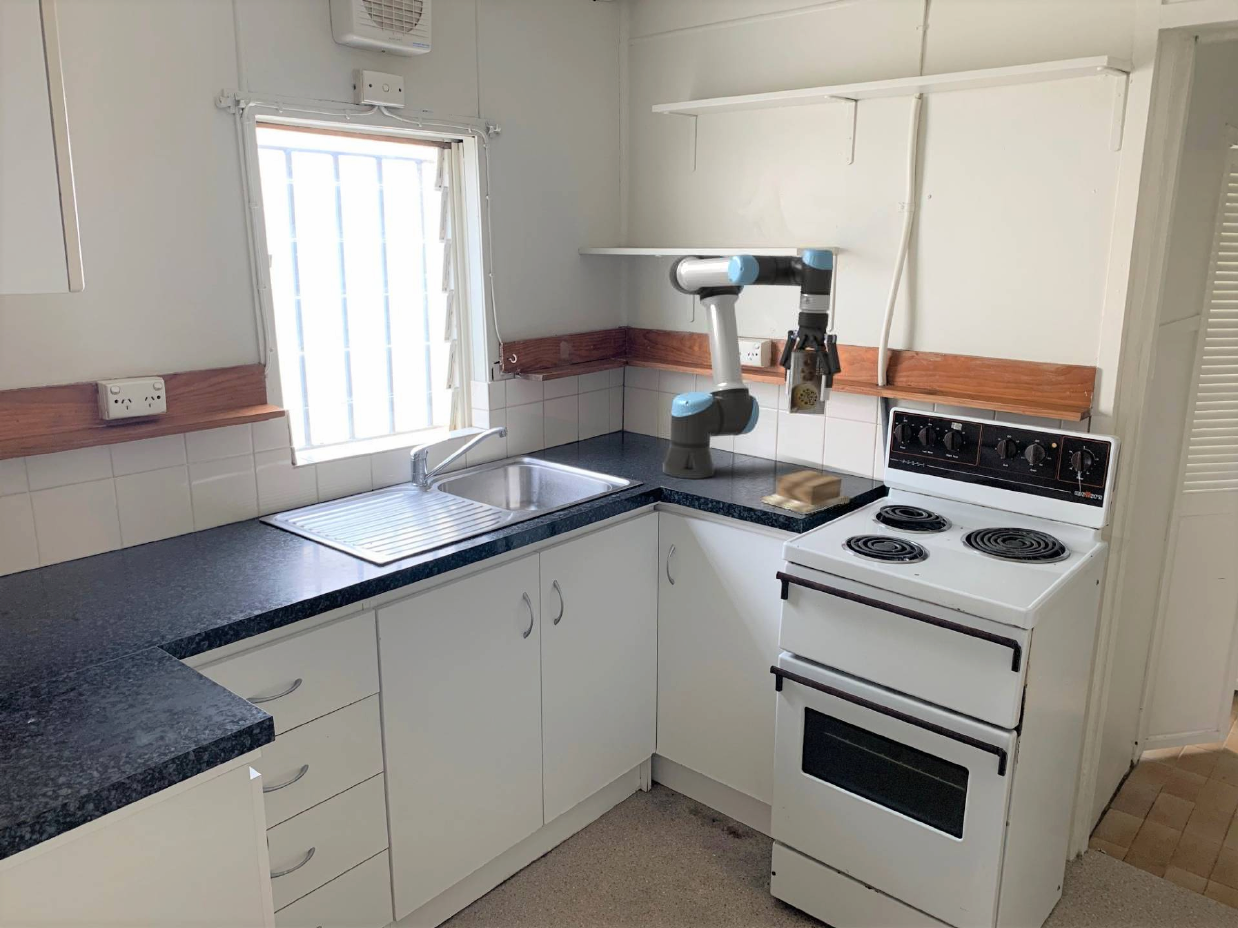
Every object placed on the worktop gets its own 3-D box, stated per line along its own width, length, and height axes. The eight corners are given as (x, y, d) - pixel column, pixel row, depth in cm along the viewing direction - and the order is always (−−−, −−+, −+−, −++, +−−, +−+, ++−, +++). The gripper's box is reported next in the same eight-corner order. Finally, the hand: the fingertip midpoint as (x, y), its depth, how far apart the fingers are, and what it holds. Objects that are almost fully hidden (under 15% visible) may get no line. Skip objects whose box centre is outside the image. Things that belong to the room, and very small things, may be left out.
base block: (776, 495, 245) (778, 477, 244) (805, 487, 254) (807, 470, 252) (811, 504, 237) (812, 486, 236) (839, 496, 246) (841, 478, 245)
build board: (761, 502, 243) (761, 496, 243) (806, 490, 257) (806, 484, 256) (804, 515, 234) (805, 509, 233) (849, 502, 247) (849, 496, 247)
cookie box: (821, 410, 242) (827, 349, 238) (824, 415, 236) (829, 352, 232) (786, 409, 243) (791, 348, 239) (788, 413, 237) (793, 351, 233)
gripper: (769, 308, 240) (763, 392, 245) (842, 315, 223) (835, 405, 228) (787, 308, 244) (781, 390, 249) (860, 314, 228) (852, 402, 233)
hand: (806, 397), depth 239 cm, fingers closed on cookie box, 10 cm apart
